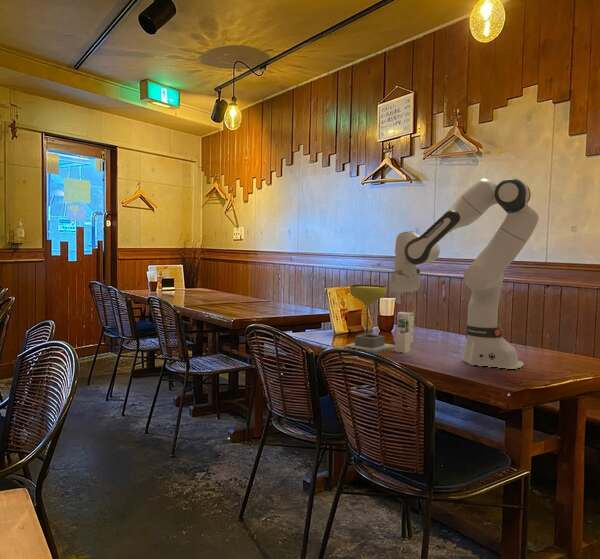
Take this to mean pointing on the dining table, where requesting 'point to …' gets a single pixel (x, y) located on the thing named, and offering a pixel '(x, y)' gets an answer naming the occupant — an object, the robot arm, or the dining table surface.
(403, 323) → the syrup box
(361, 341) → the socket
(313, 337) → the dining table surface
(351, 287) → the cocktail glass
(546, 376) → the dining table surface
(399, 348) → the plug
